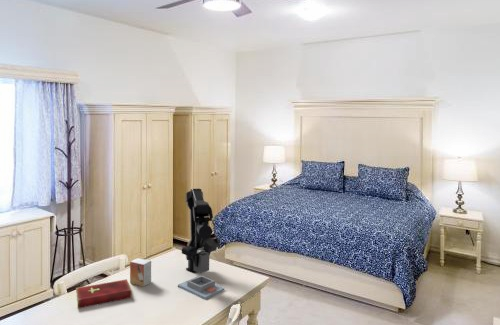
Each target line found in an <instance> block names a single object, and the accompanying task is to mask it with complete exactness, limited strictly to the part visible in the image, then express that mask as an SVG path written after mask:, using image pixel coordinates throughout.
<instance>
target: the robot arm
mask: <svg viewBox="0 0 500 325" xmlns="http://www.w3.org/2000/svg"><path fill="white" fill-rule="evenodd" d="M184 200H185V203H186V206H187V207H188V209H189V221H190V222H189V223H190V227H189V229H190V239H189V241H188V243H187V245H186V246H183V247H182V248H181V254H182V255H185V259H186V261H187V265H188V266H187V267H186V268H185V270H186V271H188V272H190V273H193V274H195V273H197V272H196V271H194V270H193V266H194V264H195V266H196V267H198V261H199V255H200V253H199V250H205V252H207V253H209V257H210V255H211V253H212V252H214V251H215V252H216V251H217V249H218V248H219V247H221V241H220V238H219V237H216V238H213V237H211V236H212V235H213V230H212V227H211V226H210V222H212V221H213V218H214V215H213V208H212V206H210V204H209V202H207V201H205V199H204V192H203V191H202V189H201V188H192V189H190V191H188V192H186V193H185V199H184Z"/></svg>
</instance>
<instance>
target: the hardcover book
mask: <svg viewBox="0 0 500 325" xmlns="http://www.w3.org/2000/svg"><path fill="white" fill-rule="evenodd" d="M75 290H76V301H77V309H81V308H87V307H92V306H97V304H98V305H102V304H106V303H107V304H108V303H112V302H117V301H122V300H128V299H132V298H133V290H132V288H131V285H130V282H129V281H128V279H127V278H126V279H121V280H115V281H109V282H103V283H98V284H91V285H86V286H80V287H79V286H78V287H75Z"/></svg>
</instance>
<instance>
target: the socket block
mask: <svg viewBox="0 0 500 325" xmlns="http://www.w3.org/2000/svg"><path fill="white" fill-rule="evenodd" d="M177 287H178V288H180V289H182V290H184V291H186V292H188V293H190V294H193V295H195V296H197V297H199V298H201V299H204V300H208V299H209V298H212V297H213V296H216V295H218V294H219V293H221V292H224V291H225V287H223V286H221V285H220V284H219V285H218V284H216V281H215V280H214V279H211V278H209V277H207V276H205V275H201V274H200V276H195V277H193V278H191V279H188V280H185V281H183V282H181V283H179V284H177Z"/></svg>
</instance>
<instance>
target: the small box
mask: <svg viewBox="0 0 500 325" xmlns="http://www.w3.org/2000/svg"><path fill="white" fill-rule="evenodd" d="M129 264H130V266H129V268H130V271H129V284H133V285H137V286H141V287H146V286H147V285H148V284H150V283H151V282H152V260H149V259H143V258H141V257H140V258H138V257H137V258H135V259H134V260H131V261H130V262H129Z"/></svg>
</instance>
